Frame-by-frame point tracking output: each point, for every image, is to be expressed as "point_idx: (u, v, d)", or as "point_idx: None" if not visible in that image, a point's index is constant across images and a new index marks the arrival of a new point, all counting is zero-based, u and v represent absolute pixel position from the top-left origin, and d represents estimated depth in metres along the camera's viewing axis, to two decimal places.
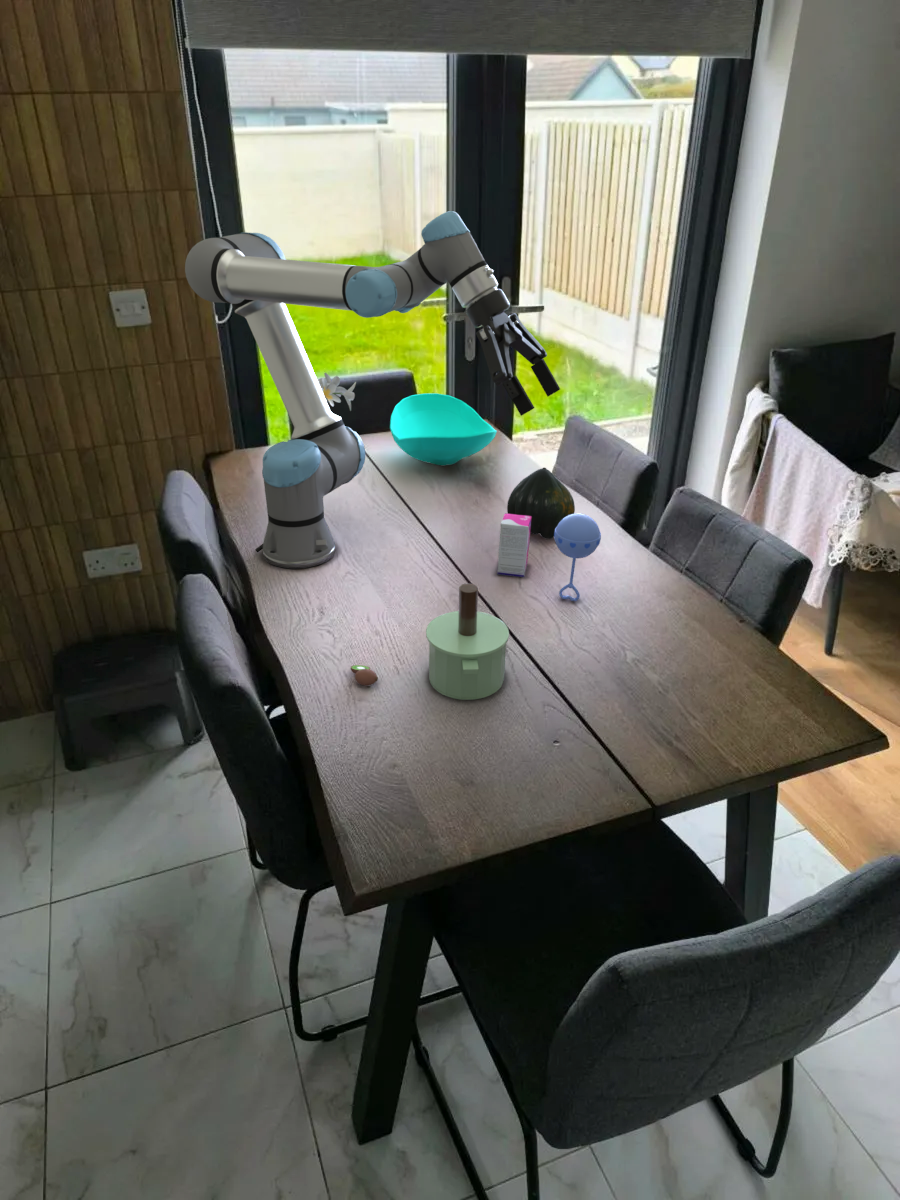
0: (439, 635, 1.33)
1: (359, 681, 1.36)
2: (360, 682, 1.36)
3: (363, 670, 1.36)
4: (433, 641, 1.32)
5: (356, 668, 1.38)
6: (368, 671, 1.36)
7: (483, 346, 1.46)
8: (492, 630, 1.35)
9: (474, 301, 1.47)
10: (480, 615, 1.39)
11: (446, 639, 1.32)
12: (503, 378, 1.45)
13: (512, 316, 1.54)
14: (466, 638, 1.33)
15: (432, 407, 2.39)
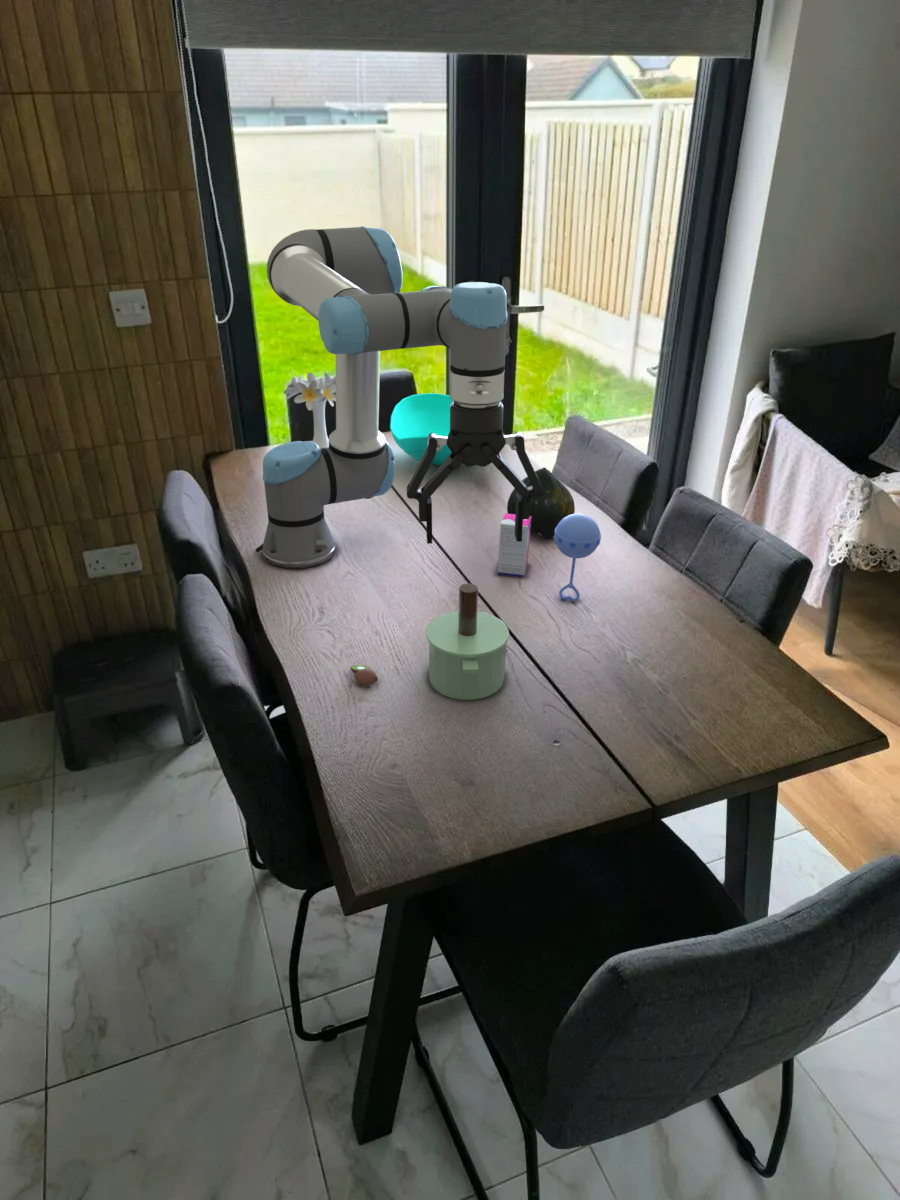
0: (439, 635, 1.33)
1: (359, 681, 1.36)
2: (360, 682, 1.36)
3: (363, 670, 1.36)
4: (433, 641, 1.32)
5: (356, 668, 1.38)
6: (368, 671, 1.36)
7: (425, 451, 1.21)
8: (492, 630, 1.35)
9: (454, 401, 1.17)
10: (480, 615, 1.39)
11: (446, 639, 1.32)
12: None
13: (516, 438, 1.19)
14: (466, 638, 1.33)
15: (432, 407, 2.39)
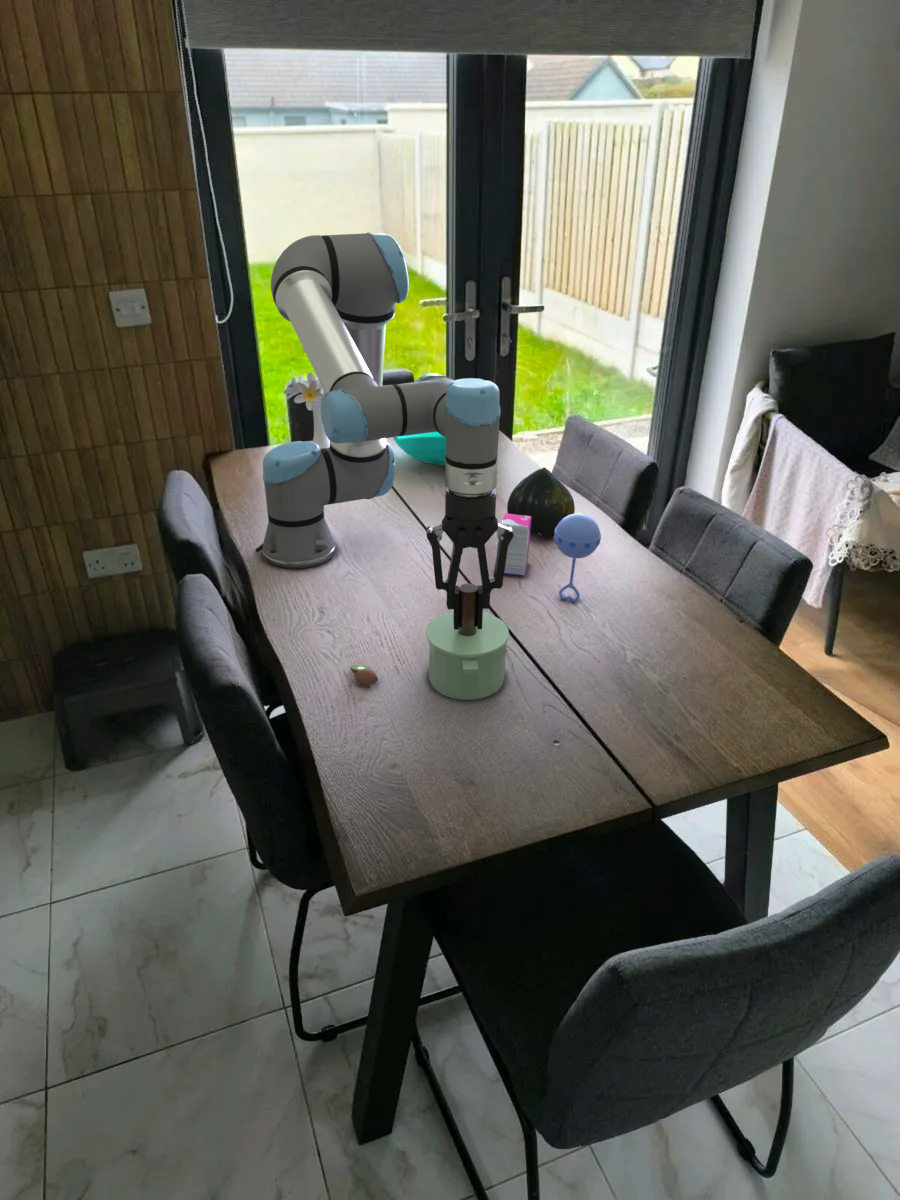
0: (439, 635, 1.33)
1: (359, 681, 1.36)
2: (360, 682, 1.36)
3: (363, 670, 1.36)
4: (433, 641, 1.32)
5: (356, 668, 1.38)
6: (368, 671, 1.36)
7: None
8: (492, 630, 1.35)
9: None
10: None
11: (446, 639, 1.32)
12: None
13: (507, 531, 1.25)
14: (466, 638, 1.33)
15: None
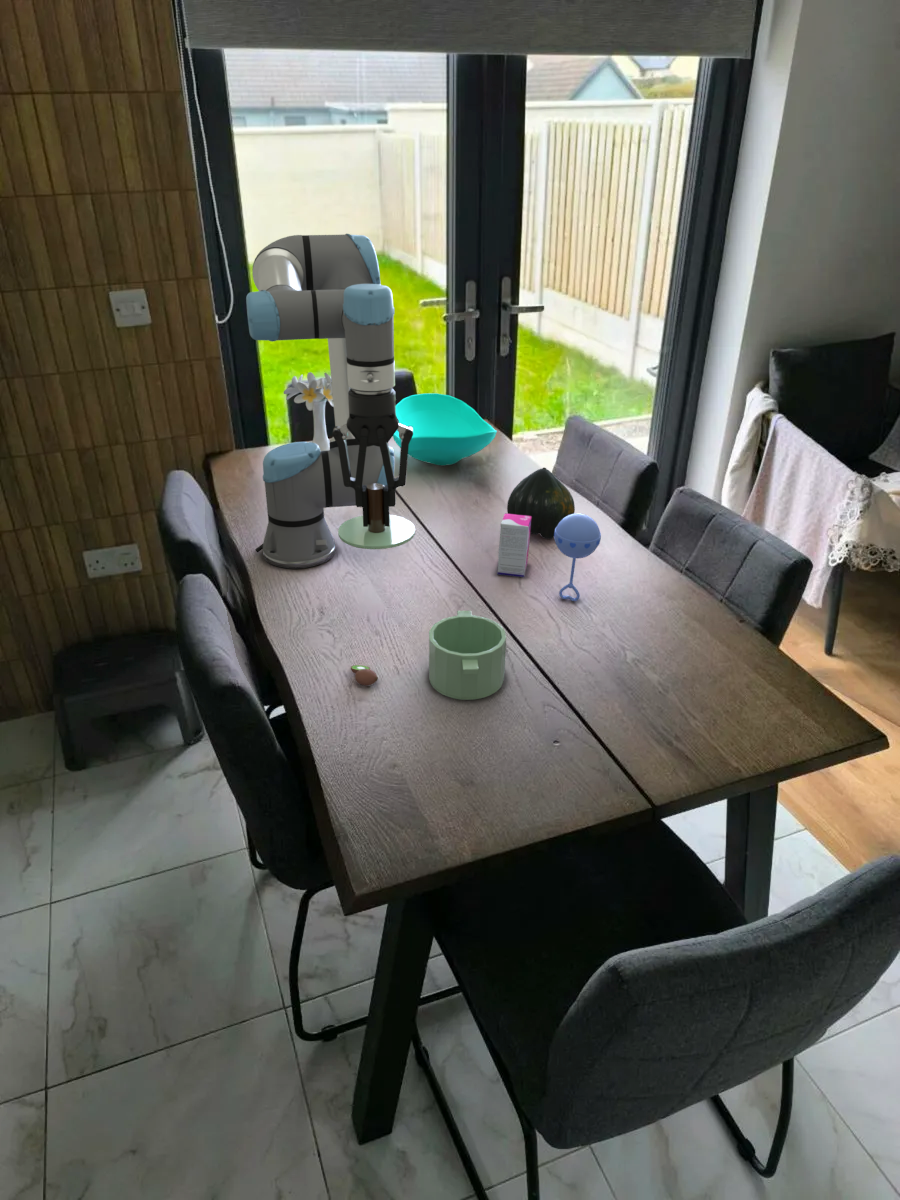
0: (349, 532, 1.44)
1: (359, 681, 1.36)
2: (360, 682, 1.36)
3: (363, 670, 1.36)
4: (343, 536, 1.42)
5: (356, 668, 1.38)
6: (368, 671, 1.36)
7: None
8: (400, 528, 1.45)
9: None
10: (391, 517, 1.49)
11: (355, 535, 1.43)
12: (349, 485, 1.40)
13: (407, 430, 1.36)
14: (374, 534, 1.43)
15: (432, 407, 2.39)
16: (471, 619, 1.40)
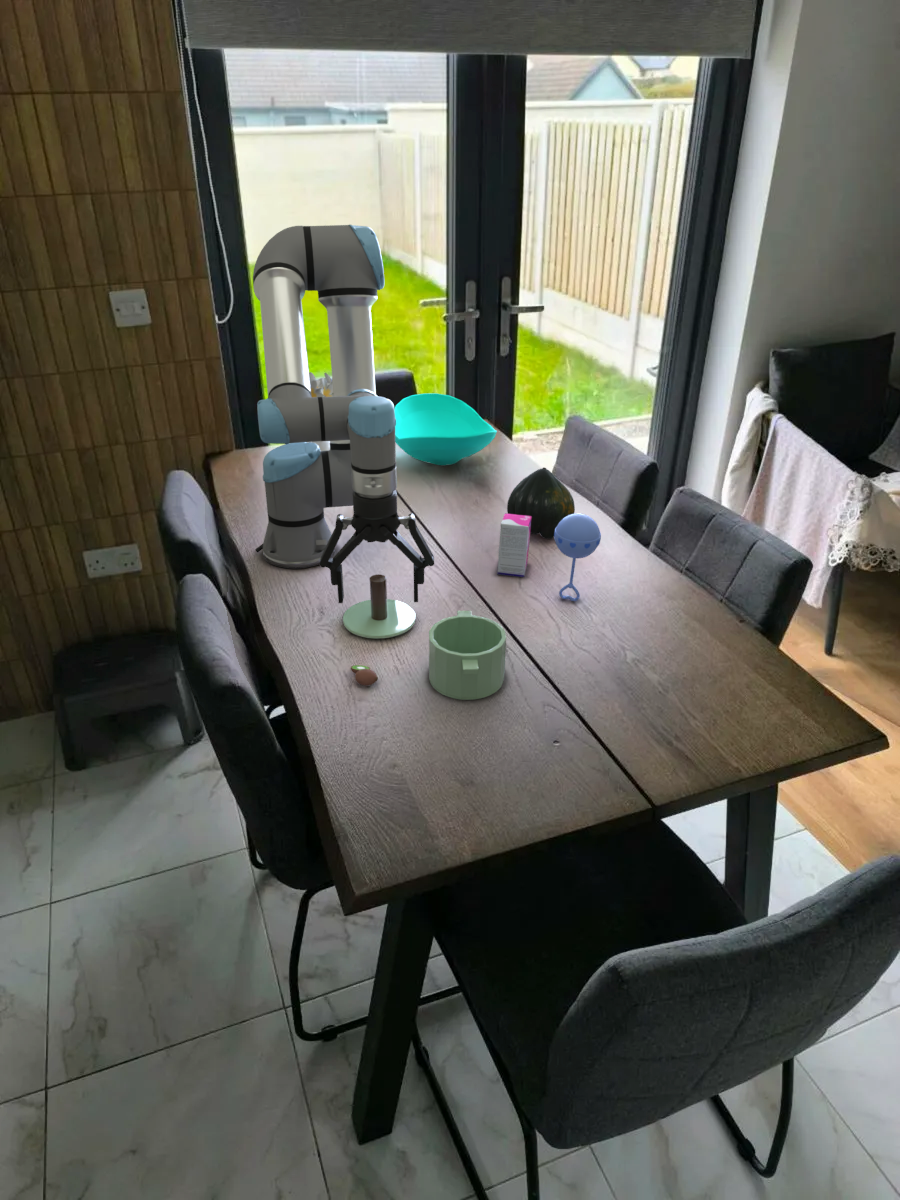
0: (353, 620, 1.52)
1: (359, 681, 1.36)
2: (360, 682, 1.36)
3: (363, 670, 1.36)
4: (348, 625, 1.51)
5: (356, 668, 1.38)
6: (368, 671, 1.36)
7: (334, 529, 1.46)
8: (401, 615, 1.54)
9: None
10: (393, 602, 1.58)
11: (359, 623, 1.51)
12: (324, 565, 1.48)
13: (408, 520, 1.44)
14: (377, 622, 1.52)
15: (432, 407, 2.39)
16: (471, 619, 1.40)
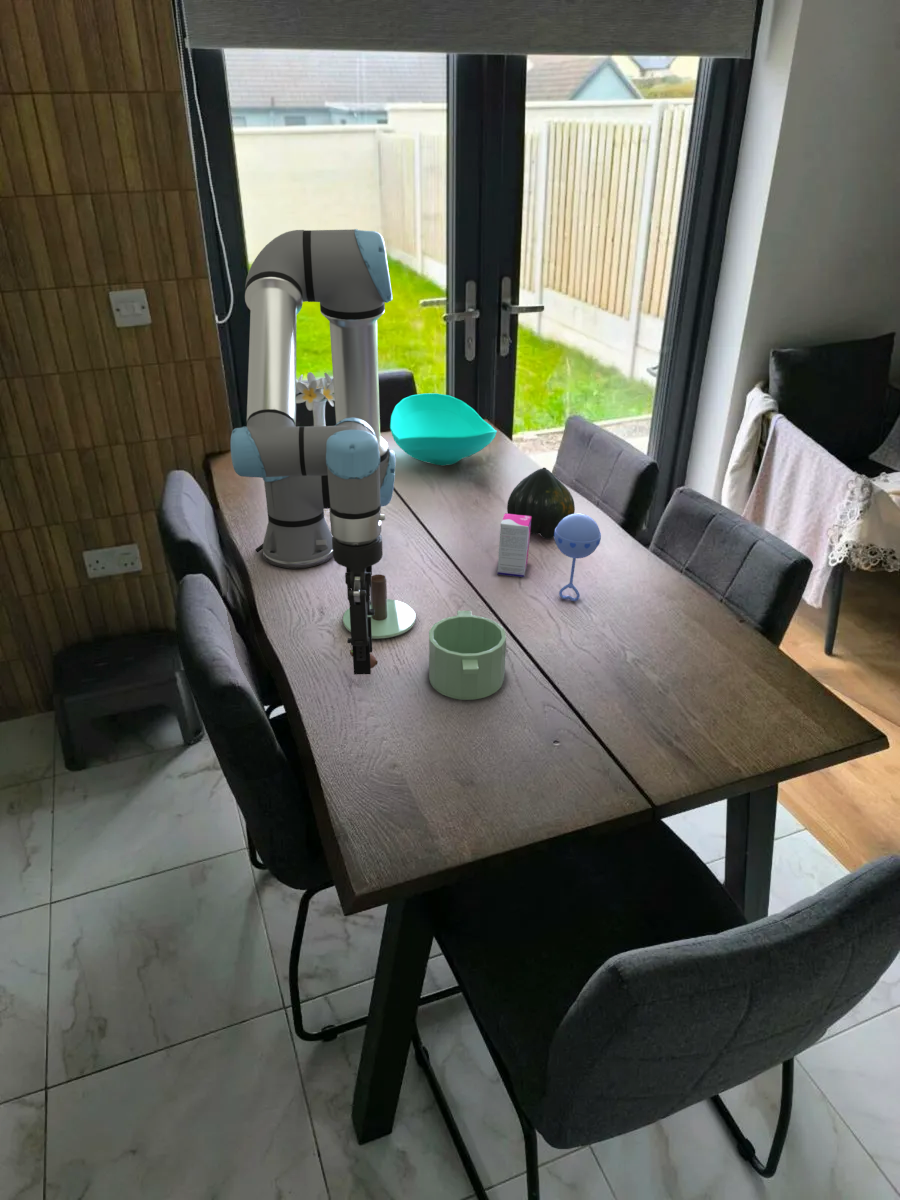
0: None
1: None
2: None
3: None
4: (348, 625, 1.51)
5: None
6: None
7: (351, 608, 1.24)
8: (401, 615, 1.54)
9: (355, 544, 1.22)
10: (393, 602, 1.58)
11: None
12: None
13: None
14: (377, 622, 1.52)
15: (432, 407, 2.39)
16: (471, 619, 1.40)
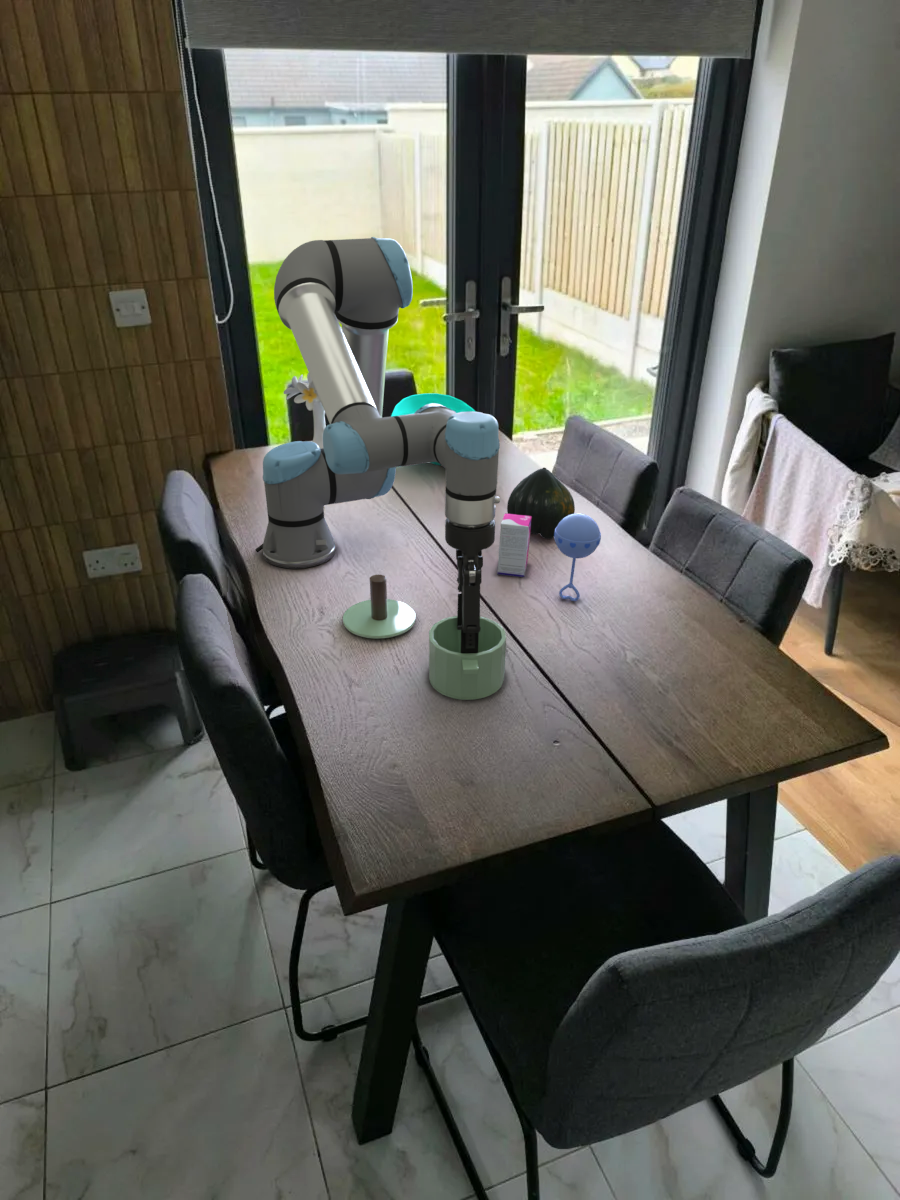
0: (353, 620, 1.52)
1: None
2: None
3: None
4: (348, 625, 1.51)
5: None
6: None
7: (466, 589, 1.23)
8: (401, 615, 1.54)
9: (471, 527, 1.22)
10: (393, 602, 1.58)
11: (359, 623, 1.51)
12: None
13: None
14: (377, 622, 1.52)
15: None
16: None
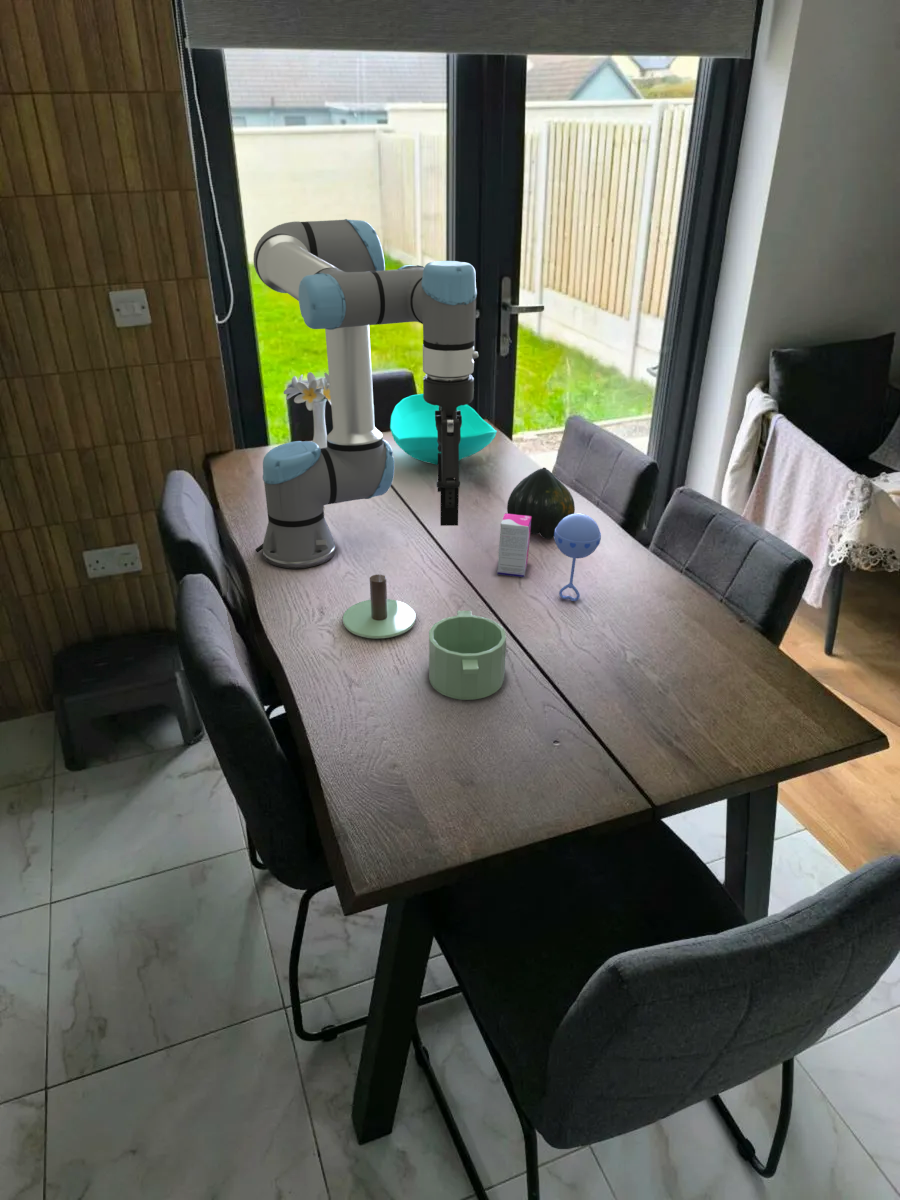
0: (353, 620, 1.52)
1: None
2: None
3: None
4: (348, 625, 1.51)
5: None
6: None
7: (444, 439, 1.21)
8: (401, 615, 1.54)
9: (448, 380, 1.21)
10: (393, 602, 1.58)
11: (359, 623, 1.51)
12: (452, 487, 1.22)
13: None
14: (377, 622, 1.52)
15: (432, 407, 2.39)
16: (471, 619, 1.40)
